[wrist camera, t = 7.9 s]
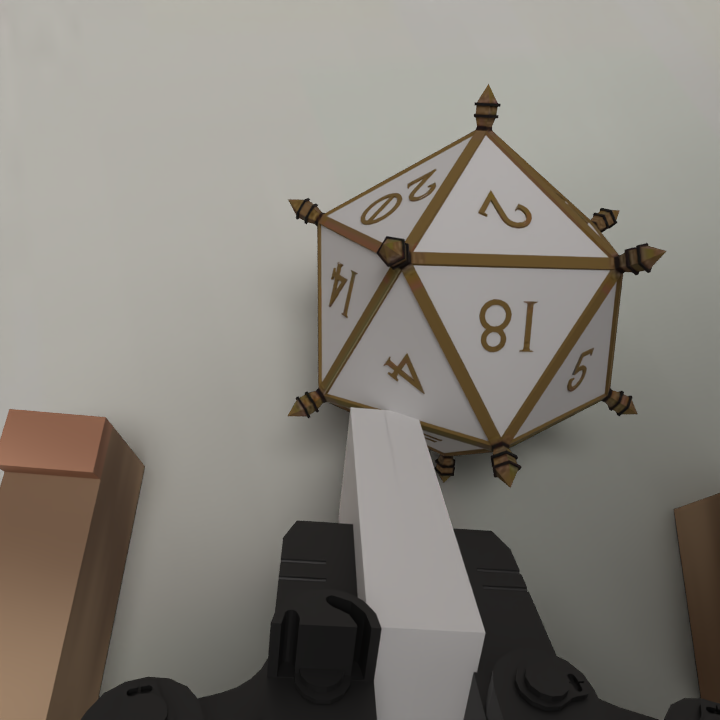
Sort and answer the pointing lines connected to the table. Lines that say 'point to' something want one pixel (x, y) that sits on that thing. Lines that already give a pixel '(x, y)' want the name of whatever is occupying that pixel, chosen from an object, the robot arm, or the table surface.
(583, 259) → the game die
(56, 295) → the table surface
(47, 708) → the wooden blocks
